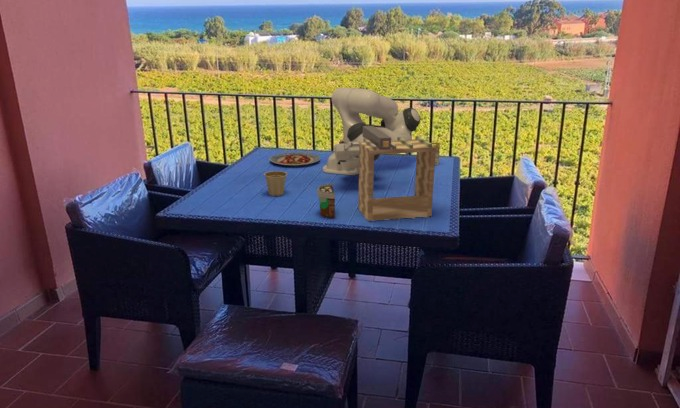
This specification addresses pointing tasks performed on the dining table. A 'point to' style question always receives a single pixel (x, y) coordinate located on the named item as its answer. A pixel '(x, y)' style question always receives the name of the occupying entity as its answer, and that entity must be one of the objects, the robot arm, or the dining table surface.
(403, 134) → the robot arm
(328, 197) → the food container
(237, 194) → the dining table surface
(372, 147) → the pine shelf
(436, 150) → the crayon box
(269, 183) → the flower pot
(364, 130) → the grey brown bar
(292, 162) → the ceramic plate
